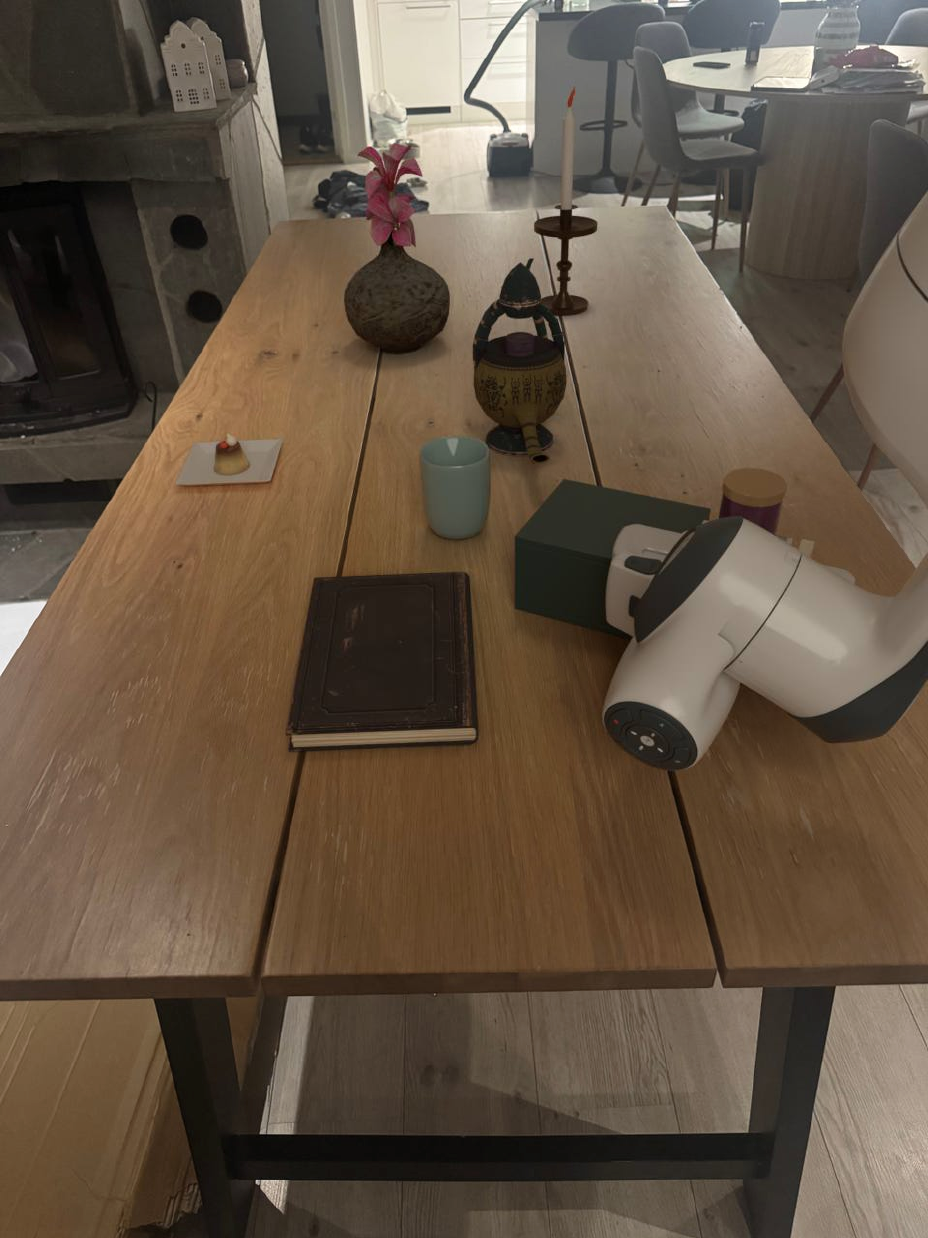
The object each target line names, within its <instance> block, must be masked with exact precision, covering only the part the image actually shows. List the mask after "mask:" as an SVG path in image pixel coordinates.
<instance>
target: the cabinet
mask: <svg viewBox="0 0 928 1238" xmlns="http://www.w3.org/2000/svg"><path fill="white" fill-rule="evenodd" d="M710 517H711V508H709V507H704V506H699V505H695V504H689V503H685V502H680V501H675V500H670V499H664V498H659V497H655V496H651V495H646V494H640V493H635V492H632V491H625V490H621V489H617V488H611V487H605V486H601V485H595V484H590V483H585V482H581V481H575V480H572V479H571V480H570V479H565V478H564V479H562V480H561V481H560V483H559V484H558V485H557V486H556V487H555V489H554V490H553V491H552V492H551V493H550V494H549V496H548V497H546V499H545V500H544V501H543V502H542V504H541V505H540V506H539V507H538V508H537V510H536V511H535V512H534V513H533V514H532V515H531V517H530V518H528V520H527V521H526V522H525V524H523V526H522V527H521V528H520V529H519V531H518V532H517V533H516V534H515V535H514V609H515V610H519V611H523V612H526V613H529V614H530V613H531V614H534V615H537V616H541V617H544V618H549V619H553V620H556V621H560V622H564V623H567V624H571V625H575V626H580V627H583V628H587V629H590V630H593V631H598V632H600V633H601V632H602V633H604V634H609V635H612V636H616V637H620V638H624V639H627V640H630V641H631V640H632V638H633V636H631V635H629V634H627V633H625V632H623V631H622V630H620V629H618V628H616V627H614V626H612V625H610V624H609V623H608V622H607V619H606V586H607V578H608V573H609V568H610V564H611V561H612V552H613V546H614V543H615V541H616V539H617V537H618V535H619V533H620V531H621V530H622V529H623V528H624V527H625V526H629V525H633V524H640V525H644V526H649V527H653V528H658V529H663V530H667V531H672V532H676V533H681V534H682V533H683V532H685V531H688V530H690V529H691V528H693V527H695V526H698V525H701V524H702V522H703V521H704V520H707V521H710Z"/></svg>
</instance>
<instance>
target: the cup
mask: <svg viewBox="0 0 928 1238" xmlns="http://www.w3.org/2000/svg"><path fill="white" fill-rule="evenodd" d="M418 456H419V457H418V458H419V460H418V461H419V477H420V491H421V499H422V506H423V511H424V515H425V519H426V522H427V524H428V526H429V528H430V529H431V530H432V531H433V533H434V534H435V535H437V536H438V537H441V538H444V539H447V540H465V539H470V538H472V537H474V536H476V535H478V534H479V533H480V532H482V530H483V528H484V527H485V525H486V523H487V521H488V518H489V515H490V514H489V513H490V507H491V498H492V497H491V495H492V462H491V460H492V459H491V452H490V448H489V447H488V446H487V444H486V441H483V440H482V439H480V438H476V437H474V436H473V437H472V436H468V435H467V436H465V435H449V436H441V437H436V438H434V439H430V440H429V441H427V442H426V443H425V444H423V445H422V447H421V448H420V450H419V455H418Z"/></svg>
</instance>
